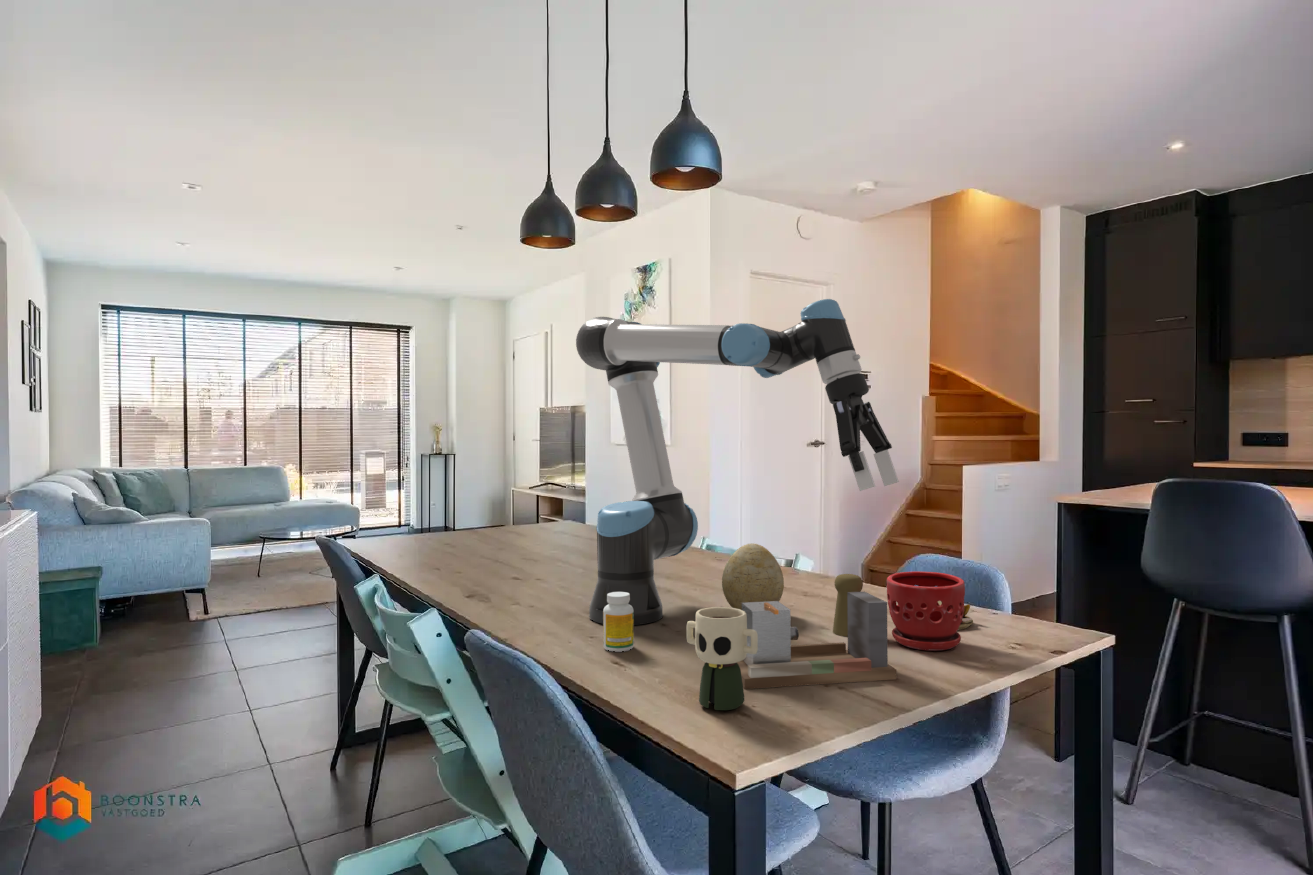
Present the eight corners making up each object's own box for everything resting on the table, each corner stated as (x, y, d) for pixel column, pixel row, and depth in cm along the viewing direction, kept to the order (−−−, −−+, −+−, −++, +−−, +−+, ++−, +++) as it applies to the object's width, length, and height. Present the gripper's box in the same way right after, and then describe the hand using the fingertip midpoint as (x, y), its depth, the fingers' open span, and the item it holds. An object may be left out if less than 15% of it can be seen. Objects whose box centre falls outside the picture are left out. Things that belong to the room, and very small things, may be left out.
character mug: (674, 706, 103) (674, 613, 103) (699, 691, 109) (698, 602, 109) (746, 722, 97) (746, 623, 97) (768, 705, 103) (767, 611, 103)
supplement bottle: (599, 646, 133) (598, 592, 132) (626, 642, 135) (626, 589, 135) (610, 654, 128) (610, 598, 128) (638, 649, 130) (638, 595, 130)
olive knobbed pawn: (866, 637, 137) (866, 578, 137) (833, 636, 138) (832, 577, 138) (864, 629, 143) (864, 572, 143) (832, 627, 144) (831, 571, 144)
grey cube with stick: (741, 658, 118) (741, 598, 118) (789, 656, 120) (789, 596, 120) (757, 675, 110) (757, 611, 110) (808, 672, 111) (808, 608, 111)
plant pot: (878, 634, 139) (878, 570, 139) (949, 634, 138) (949, 570, 138) (899, 655, 126) (898, 584, 126) (977, 655, 125) (977, 584, 125)
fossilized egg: (766, 606, 162) (766, 537, 162) (795, 620, 150) (794, 546, 150) (712, 611, 158) (712, 541, 158) (737, 625, 146) (737, 549, 146)
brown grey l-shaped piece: (725, 666, 121) (725, 595, 120) (865, 657, 124) (864, 589, 124) (744, 689, 110) (744, 611, 110) (896, 679, 114) (896, 604, 113)
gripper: (836, 366, 128) (876, 484, 124) (883, 375, 149) (918, 476, 145) (798, 382, 132) (836, 497, 128) (849, 389, 153) (882, 487, 149)
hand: (880, 486), depth 137 cm, fingers open, 13 cm apart
